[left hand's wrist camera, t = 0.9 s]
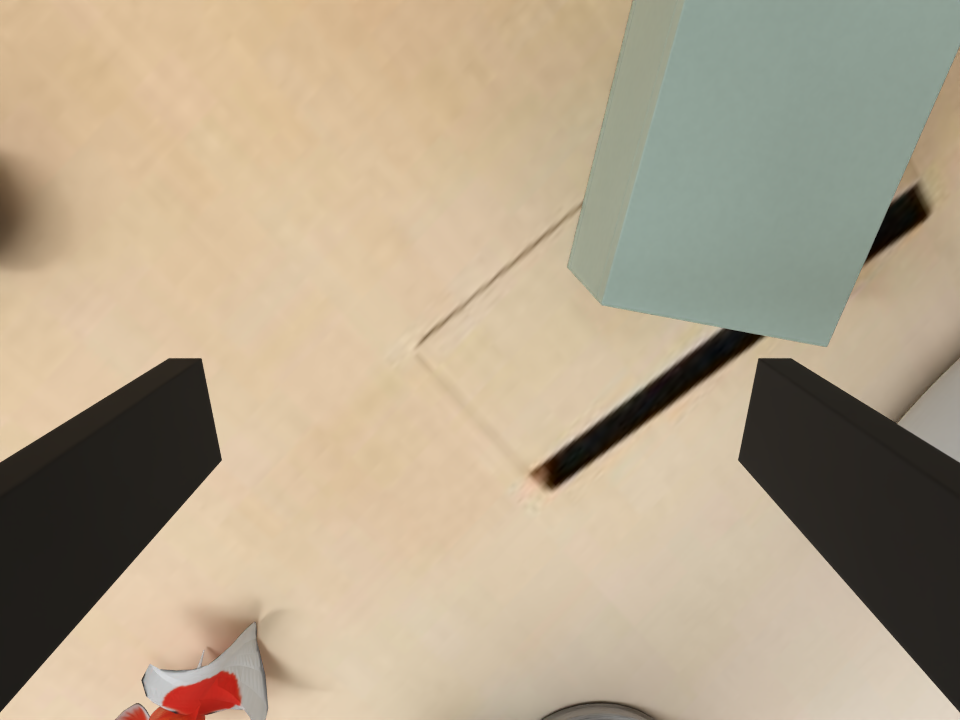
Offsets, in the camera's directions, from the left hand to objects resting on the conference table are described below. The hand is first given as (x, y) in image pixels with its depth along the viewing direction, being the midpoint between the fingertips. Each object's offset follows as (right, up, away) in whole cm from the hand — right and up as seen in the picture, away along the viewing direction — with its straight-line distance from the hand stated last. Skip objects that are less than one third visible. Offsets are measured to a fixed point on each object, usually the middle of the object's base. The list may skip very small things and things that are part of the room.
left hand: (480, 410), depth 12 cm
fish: (-24, -26, +35) cm, 49 cm away
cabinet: (+13, +15, +19) cm, 28 cm away
